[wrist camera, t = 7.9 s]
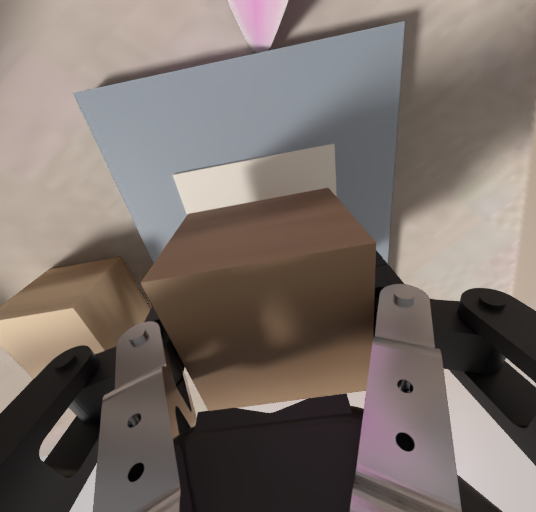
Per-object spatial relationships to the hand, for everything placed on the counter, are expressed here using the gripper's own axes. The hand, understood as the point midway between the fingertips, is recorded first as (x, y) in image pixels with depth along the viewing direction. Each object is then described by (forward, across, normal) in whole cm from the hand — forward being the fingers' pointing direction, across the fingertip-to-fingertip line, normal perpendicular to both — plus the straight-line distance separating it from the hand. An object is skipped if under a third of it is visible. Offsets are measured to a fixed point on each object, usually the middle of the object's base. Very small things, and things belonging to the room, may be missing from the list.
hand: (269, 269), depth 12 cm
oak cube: (+5, +12, +3) cm, 13 cm away
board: (+5, 0, 0) cm, 5 cm away
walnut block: (+1, 0, 0) cm, 1 cm away
